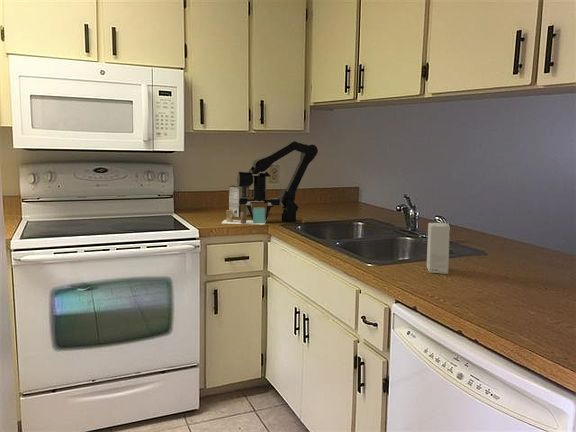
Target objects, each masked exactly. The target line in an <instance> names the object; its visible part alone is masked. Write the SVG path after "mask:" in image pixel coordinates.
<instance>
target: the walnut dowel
mask: <svg viewBox="0 0 576 432" xmlns="http://www.w3.org/2000/svg"><path fill="white" fill-rule="evenodd" d="M240 220H241V224H240V225H247V224H246V220H247V215H246V212H241V217H240Z"/></svg>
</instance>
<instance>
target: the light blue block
mask: <svg viewBox="0 0 576 432" xmlns="http://www.w3.org/2000/svg"><path fill="white" fill-rule="evenodd" d="M252 210H253V220H252V221H253V223H265V221H266V207H257V206H254V207H253V208H252ZM265 224H266V223H265Z"/></svg>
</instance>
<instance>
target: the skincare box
mask: <svg viewBox="0 0 576 432" xmlns="http://www.w3.org/2000/svg"><path fill="white" fill-rule="evenodd" d="M427 227H428V228H427V244H426V245H427V250H426V268H427V270H428V272H429V273H431V274H442V275H443V274H445V275H449V260H450V259H449V258H450V237H451V236H450V232H451V226H450V225H449V224H448V223H446V222H428V224H427Z"/></svg>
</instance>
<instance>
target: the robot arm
mask: <svg viewBox="0 0 576 432" xmlns="http://www.w3.org/2000/svg"><path fill="white" fill-rule="evenodd" d="M294 151H296V152H299V153H300V156H299V160H298V164H297V166H296V168H295V170H294V172H293V174H292V177H291V179H290V181H289V183H288V184H287V187H286V188H283V189H282V188H281V190H280V193H279V195H278V196H277V197H271V198H270V199H267V177H269V178H270V177H271V174H270V173H269V172H268V171H267V170H269V168H270V167H271V166H272V165H273V164H274V163H276V162H277V161H278V160H281V159H282V158H284V157H286V156H287V155H289V154H290V153H293V152H294ZM318 153H319V150H318V147H317V146H316V145H315V144H305V143H301V142H298V141H295V140H294V141H293V140H291V141H289V142H288V143H287V144H285V145H284V146H282V147H280V148H278V149H277V150H275V151H273V152H272V153H270V154H268V155H264V156H262V157H259V158H256V159H254V161H252V166H251V168H250V169H249V170H248V171H238V174H237V178H236V183H237V184H236V185H238V186H249V187H251V186H252V185H253V189H252V190H251V197H252V198H250V197H249V198H248V197H241V198H240V199H239V204H244V205H245V206H247V208H248V210H249V216H250V218H251V220H252V221H253V204H266V205H267V206H266V210H265V221H267V219H268V216H269V214H270V211H271V209H272V208H274V207H275V206H281V208H282V212H281V222H283V223H297V212H298V209H299V206H298V205H297V204H296V203H295V200H296V193H297V190H298V188H299V185H300V183H301V181H302V179H303V177H304V175H305V174H306V173H305V172H306V171H307V168H308V167H309V164H311V162H313V160H314V159H315V157H316V156H317V154H318Z"/></svg>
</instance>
